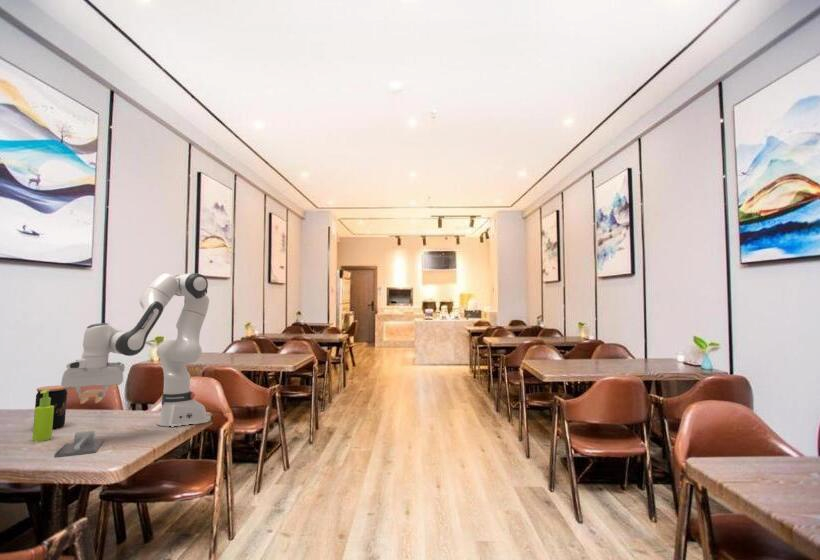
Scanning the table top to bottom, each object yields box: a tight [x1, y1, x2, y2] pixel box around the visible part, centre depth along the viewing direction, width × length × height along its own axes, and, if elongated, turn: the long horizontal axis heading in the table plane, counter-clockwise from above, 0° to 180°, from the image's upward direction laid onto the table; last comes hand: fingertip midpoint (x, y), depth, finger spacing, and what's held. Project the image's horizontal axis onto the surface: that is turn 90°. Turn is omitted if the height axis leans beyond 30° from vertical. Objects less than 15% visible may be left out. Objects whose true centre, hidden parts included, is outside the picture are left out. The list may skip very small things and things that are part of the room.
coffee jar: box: [34, 385, 68, 430], centre depth 188 cm, size 11×11×18 cm
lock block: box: [79, 388, 104, 405], centre depth 171 cm, size 6×9×4 cm, turn 26°
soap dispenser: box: [32, 390, 54, 442], centre depth 171 cm, size 6×7×20 cm
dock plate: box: [53, 430, 104, 458], centre depth 159 cm, size 12×14×5 cm
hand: (92, 397), depth 171 cm, fingers closed on lock block, 6 cm apart
